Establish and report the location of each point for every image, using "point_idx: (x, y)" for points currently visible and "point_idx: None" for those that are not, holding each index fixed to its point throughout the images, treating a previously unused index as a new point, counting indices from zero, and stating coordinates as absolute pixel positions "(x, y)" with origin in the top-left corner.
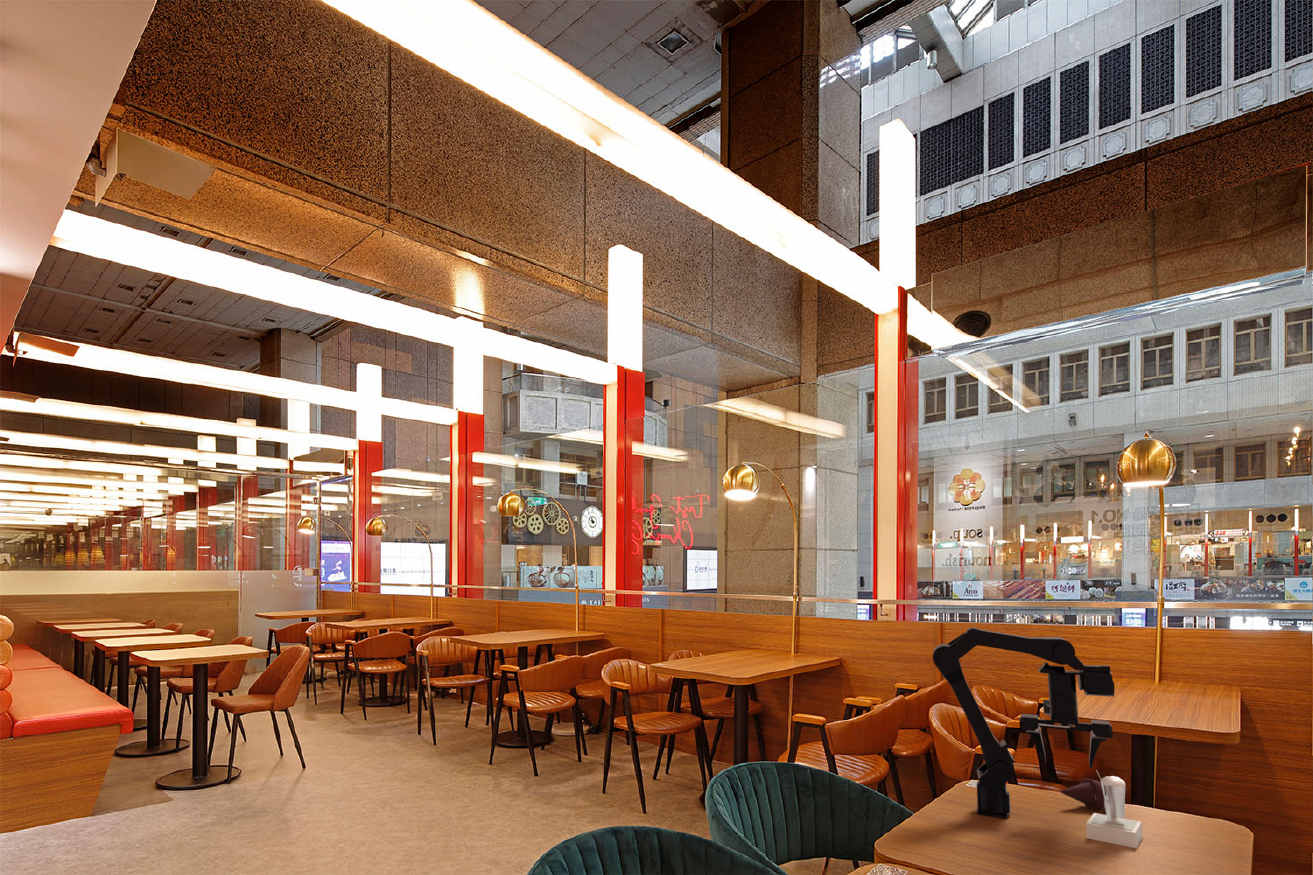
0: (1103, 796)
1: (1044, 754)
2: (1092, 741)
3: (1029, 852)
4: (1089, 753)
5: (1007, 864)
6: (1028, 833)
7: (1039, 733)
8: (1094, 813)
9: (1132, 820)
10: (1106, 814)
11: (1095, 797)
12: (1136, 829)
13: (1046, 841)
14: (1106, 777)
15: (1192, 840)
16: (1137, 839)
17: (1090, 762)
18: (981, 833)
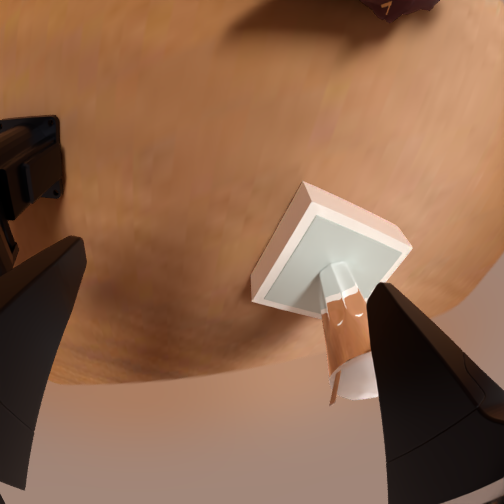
0: (329, 325)
1: (63, 330)
2: (393, 495)
3: (137, 356)
4: (420, 353)
5: (121, 383)
6: (121, 281)
7: (22, 486)
8: (310, 206)
9: (394, 249)
10: (319, 293)
11: (385, 2)
12: None
13: (159, 313)
14: (353, 390)
15: (478, 218)
16: None
17: (375, 343)
18: None
